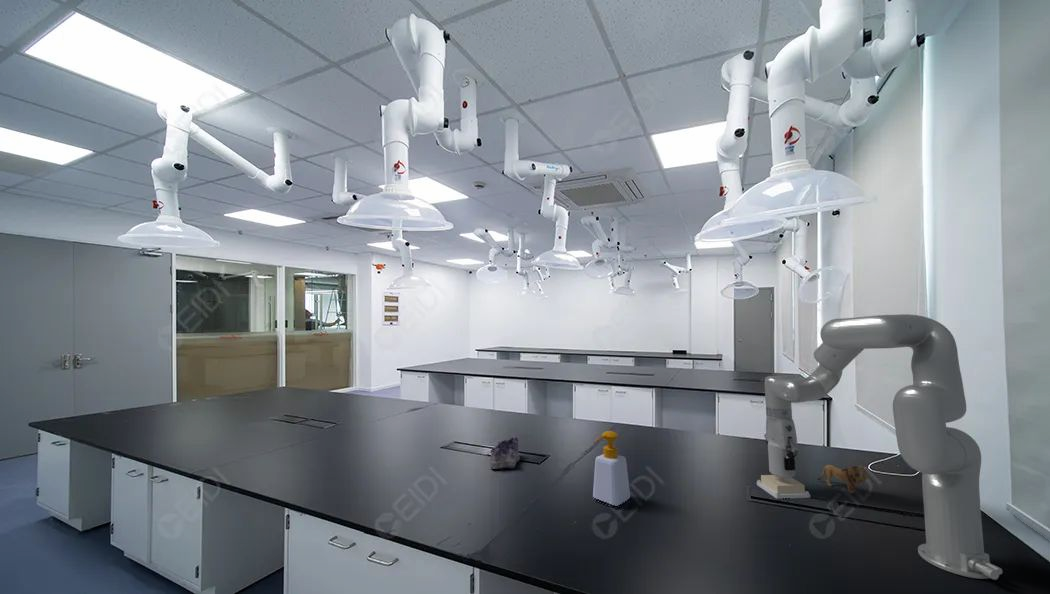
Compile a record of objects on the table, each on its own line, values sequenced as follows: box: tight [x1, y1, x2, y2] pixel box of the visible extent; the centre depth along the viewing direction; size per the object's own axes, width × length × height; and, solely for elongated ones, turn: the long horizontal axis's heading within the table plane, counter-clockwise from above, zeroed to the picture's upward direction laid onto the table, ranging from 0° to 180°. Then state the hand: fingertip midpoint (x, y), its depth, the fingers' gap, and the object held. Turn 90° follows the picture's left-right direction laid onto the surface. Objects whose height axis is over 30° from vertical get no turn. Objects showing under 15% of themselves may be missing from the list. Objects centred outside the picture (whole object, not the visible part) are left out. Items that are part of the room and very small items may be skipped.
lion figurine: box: [816, 464, 868, 494], centre depth 139 cm, size 15×5×9 cm, turn 33°
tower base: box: [756, 474, 811, 500], centre depth 137 cm, size 11×11×4 cm
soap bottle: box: [592, 430, 631, 507], centre depth 131 cm, size 10×14×22 cm
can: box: [767, 438, 796, 479], centre depth 137 cm, size 8×8×12 cm
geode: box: [489, 437, 521, 470], centre depth 169 cm, size 20×12×10 cm, turn 169°
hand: (781, 465), depth 137 cm, fingers closed on can, 7 cm apart
